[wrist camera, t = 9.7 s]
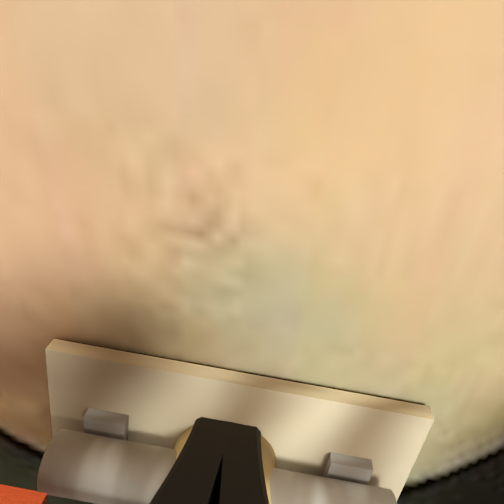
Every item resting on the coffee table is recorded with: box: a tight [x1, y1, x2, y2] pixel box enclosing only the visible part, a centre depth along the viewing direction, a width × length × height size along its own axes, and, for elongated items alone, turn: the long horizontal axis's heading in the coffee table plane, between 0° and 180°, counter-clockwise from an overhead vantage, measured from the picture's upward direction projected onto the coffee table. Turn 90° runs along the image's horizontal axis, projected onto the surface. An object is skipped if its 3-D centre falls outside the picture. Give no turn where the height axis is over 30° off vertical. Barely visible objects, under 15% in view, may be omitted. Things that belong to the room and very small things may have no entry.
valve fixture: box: [37, 339, 434, 504], centre depth 21 cm, size 18×10×5 cm, turn 82°
